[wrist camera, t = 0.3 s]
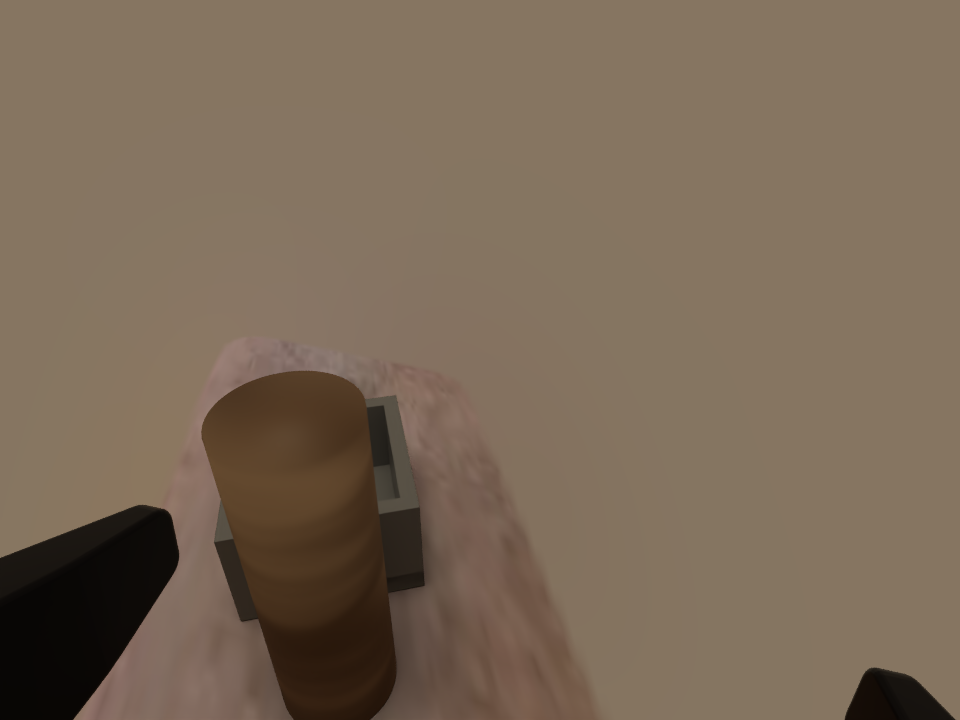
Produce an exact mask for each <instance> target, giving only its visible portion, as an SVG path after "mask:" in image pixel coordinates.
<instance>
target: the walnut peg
mask: <svg viewBox="0 0 960 720" xmlns="http://www.w3.org/2000/svg"><path fill="white" fill-rule="evenodd" d="M201 433H202V440H203V443H204V446H205V450H206V453H207V456H208V459H209V462H210V466H211V469H212V472H213V475H214V478H215V482H216V485H217V488H218V491H219V494H220V498H221V501H222V504H223V507H224V510H225V514H226V517H227V520H228V523H229V526H230V530H231V533H232V536H233V539H234V542H235V546H236V549H237V552H238V555H239V558H240V562H241V565H242V568H243V571H244V574H245V578H246V581H247V584H248V587H249V590H250V594H251V597H252V600H253V603H254V606H255V610H256V613H257V616H258V619H259V622H260V626H261V629H262V632H263V635H264V638H265V641H266V645H267V648H268V651H269V654H270V657H271V661H272V664H273V667H274V670H275V673H276V677H277V680H278V683H279V686H280V689H281V693H282V696H283V699H284V702H285V705H286V708H287V710H288V712H289V714H290V715H291V716H292V718H293V719H294V720H369V719H371V718H372V717H373V716H374V715H375V714H376V713H377V712H378V711H379V710H380V709H381V708H382V707H383V705H384V704H385V702H386V701H387V699H388V698H389V696H390V694H391V692H392V689H393V686H394V683H395V679H396V657H395V649H394V640H393V631H392V623H391V614H390V606H389V597H388V588H387V580H386V571H385V562H384V554H383V545H382V537H381V528H380V519H379V511H378V502H377V494H376V485H375V476H374V468H373V459H372V450H371V442H370V433H369V425H368V416H367V407H366V402H365V398H364V396H363V394H362V393H361V391H360V390H359V389H358V388H357V387H356V386H355V385H354V384H352V383H351V382H349V381H348V380H346V379H344V378H342V377H339V376H336V375H333V374H329V373H324V372H317V371H292V372H284V373H278V374H273V375H269V376H265V377H262V378H259V379H256V380H253V381H251V382H248V383H246V384H244V385H242V386H240V387H238V388H236V389H234V390H233V391H231V392H230V393H228V394H227V395H225V396H224V397H223V398H221V399H220V400H219V401H218V402H217V403H216V404H215V405H214V406H213V407H212V408H211V410H210V411H209V412H208V414H207V416H206V417H205V419H204V422H203V425H202V431H201Z"/></svg>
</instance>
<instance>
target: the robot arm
mask: <svg viewBox="0 0 960 720" xmlns="http://www.w3.org/2000/svg"><path fill="white" fill-rule="evenodd" d="M178 561H179V550H178V545H177V540H176V535H175V530H174V525H173V520H172V517H171V515H170V513H169V512H168V511H167V510H165V509H161V508H156V507H152V506H147V505H138V506H134V507H131V508H129V509H126V510H124V511H121V512H118V513H116V514H113V515H111V516H108V517H105V518H103V519H100V520H98V521H95V522H92V523H90V524H88V525H85V526H82V527H80V528H77V529H74V530H72V531H69V532H67V533H64V534H61V535H59V536H56V537H54V538H51V539H48V540H46V541H43V542H40V543H38V544H35V545H33V546H30V547H28V548H25V549H22V550H20V551H17V552H14V553H12V554H10V555H7V556H4V557H1V558H0V720H73V719H74V718H75V717H76V715H77V714H78V713H79V712H80V710H81V709H82V708H83V706H84V705H85V704H86V702H87V701H88V700H89V699H90V697H91V696H92V695H93V693H94V692H95V691H96V690H97V688H98V687H99V686H100V684H101V683H102V681H103V680H104V679H105V677H106V676H107V675H108V673H109V672H110V671H111V669H112V668H113V666H114V665H115V663H116V662H117V660H118V659H119V657H120V656H121V654H122V653H123V651H124V650H125V648H126V647H127V645H128V644H129V642H130V640H131V639H132V637H133V636H134V634H135V633H136V631H137V630H138V628H139V626H140V625H141V623H142V622H143V620H144V619H145V617H146V616H147V614H148V613H149V611H150V609H151V608H152V606H153V605H154V603H155V602H156V600H157V599H158V597H159V596H160V594H161V592H162V591H163V589H164V588H165V586H166V585H167V583H168V582H169V580H170V578H171V577H172V575H173V574H174V572H175V570H176V568H177V565H178ZM845 720H955V719H954V718H953V717H952V716H951V715H950V714H949V713H948V712H947V711H946V709H945V708H944V707H942V706H941V704H939V703H938V702H937V700H936V699H935V698H934V697H933V696H932V695H931V694H930V693H929V692H928V691H927V690H926V689H925V688H924V687H923V686H922V685H921V684H920V683H919V682H918V681H917V680H915V679H914V678H912V677H911V676H908V675H906V674H902V673H898V672H893V671H889V670H884V669H880V668H870V669H868V670H867V671H866V672H865V673H864V675H863V677H862V679H861V681H860V683H859V685H858V688H857V690H856V692H855V695H854V697H853V699H852V702H851V704H850V706H849V708H848V710H847V713H846V716H845Z"/></svg>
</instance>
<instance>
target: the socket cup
mask: <svg viewBox="0 0 960 720" xmlns="http://www.w3.org/2000/svg"><path fill="white" fill-rule="evenodd" d="M365 402H366V407H367V416H368V425H369V433H370V442H371V450H372V459H373V468H374V476H375V485H376V494H377V502H378V511H379V519H380V528H381V537H382V545H383V554H384V562H385V571H386V580H387V588H388V592H393V591H398V590H403V589H408V588H413V587H418V586H423V585H424V571H423V555H422V539H421V523H420V507H419V502H418V498H417V493H416V488H415V483H414V479H413V474H412V469H411V464H410V460H409V455H408V450H407V445H406V440H405V436H404V431H403V426H402V421H401V417H400V412H399V407H398V402H397V397H396V395H395V396H387V397H380V398H372V399H365ZM214 543H215V546H216V549H217V552H218V555H219V558H220V561H221V564H222V567H223V570H224V573H225V576H226V579H227V582H228V585H229V588H230V591H231V593H232V596H233V599H234V602H235V605H236V608H237V611H238V614H239V617H240V620H241V621H245V620H250V619H255V618H258V616H257V613H256V610H255V606H254V603H253V600H252V597H251V594H250V590H249V587H248V584H247V581H246V578H245V574H244V571H243V568H242V565H241V562H240V558H239V555H238V552H237V549H236V546H235V542H234V539H233V536H232V533H231V530H230V526H229V523H228V520H227V517H226V514H225V510H224V507H223V504H222V501H221V502H220V508H219V514H218V521H217V527H216V533H215V539H214Z"/></svg>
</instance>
